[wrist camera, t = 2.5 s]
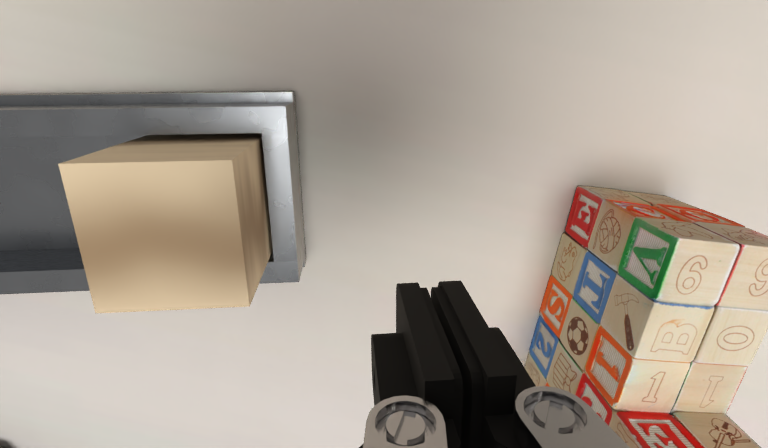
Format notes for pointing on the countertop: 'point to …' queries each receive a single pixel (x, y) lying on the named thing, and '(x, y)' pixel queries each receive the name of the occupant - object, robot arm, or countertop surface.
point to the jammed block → (171, 221)
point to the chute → (112, 127)
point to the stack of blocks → (653, 317)
